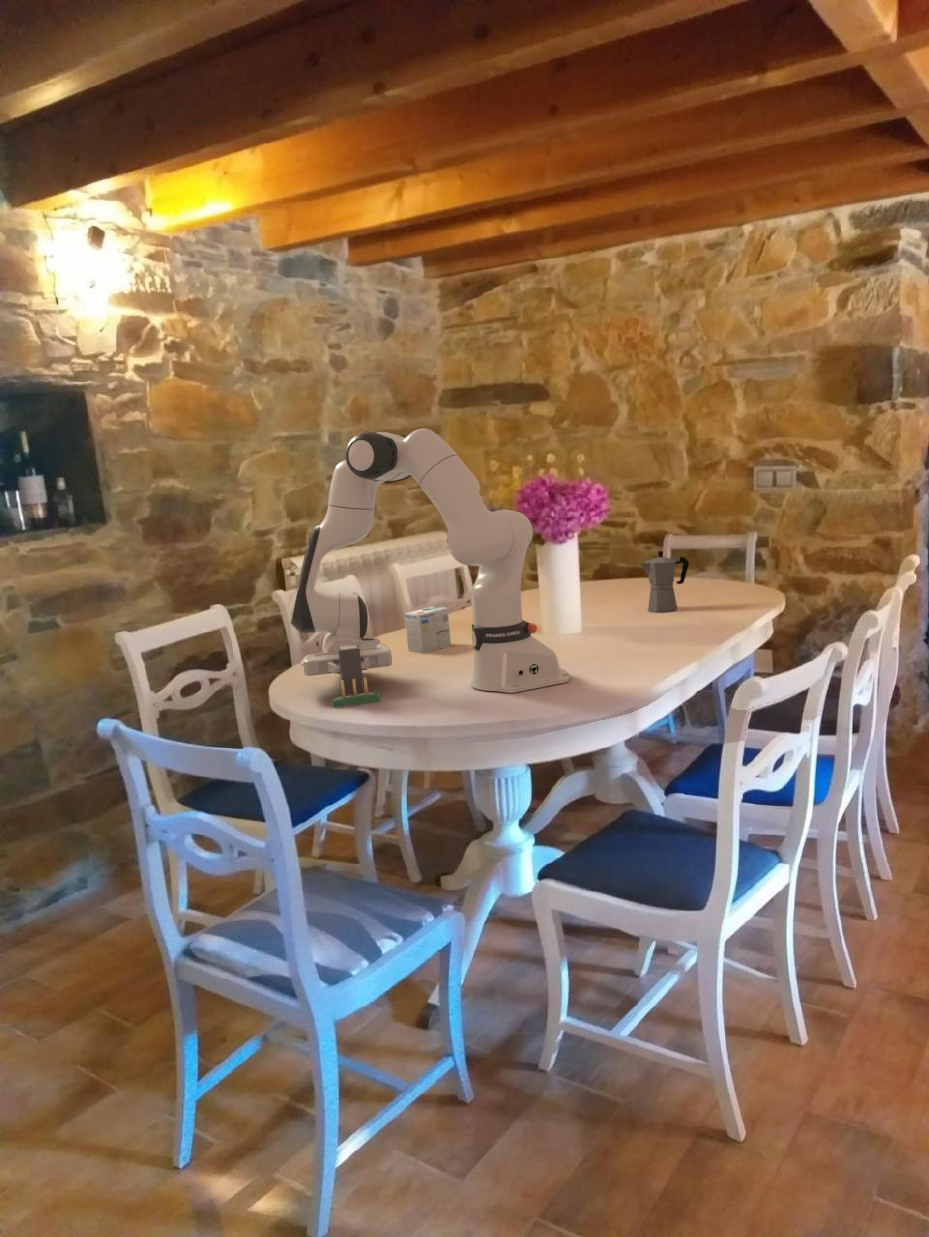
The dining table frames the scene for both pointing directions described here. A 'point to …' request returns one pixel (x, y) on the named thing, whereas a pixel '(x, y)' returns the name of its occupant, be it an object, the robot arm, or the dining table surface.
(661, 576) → the coffeepot
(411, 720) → the dining table surface
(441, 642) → the light bulb box
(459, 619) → the dining table surface
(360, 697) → the header strip
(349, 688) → the block
